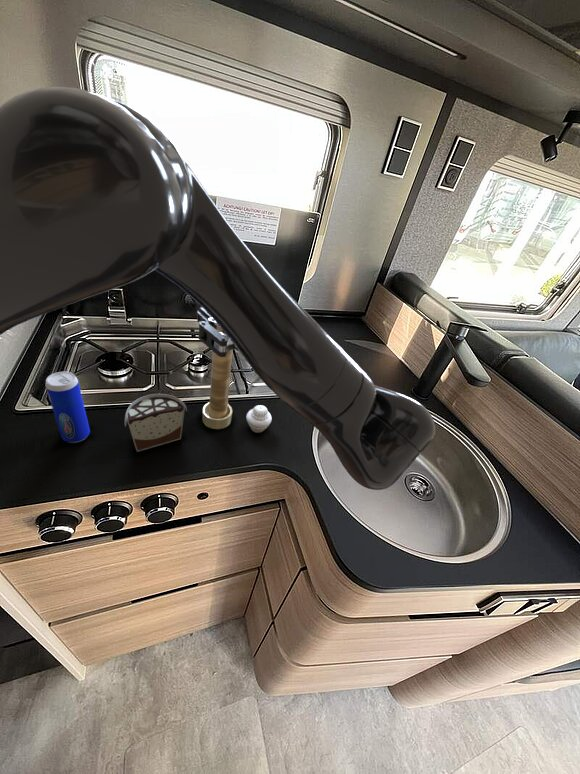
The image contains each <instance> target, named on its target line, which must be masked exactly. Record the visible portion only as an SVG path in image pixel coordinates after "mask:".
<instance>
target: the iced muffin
mask: <svg viewBox="0 0 580 774" xmlns="http://www.w3.org/2000/svg"><path fill="white" fill-rule="evenodd" d="M185 412H188V407H187V405H186V404H185V402H183V400H182V399H181V398H179V397H177V396H174V395H171V394H167V393H152V394H147V395H143V396H141V397H138V398H137V399H135V400H134V401H133V402H131V403H130V404H129V405H128V408H127V409H126V411H125V414H124V420H123V421H124V422H123V423H124V427H127V425H128V429H129V431H130V434H131V437H132V440H133V445H134V448H135V451H136V453H138V452H142V451H145V450H149V449H152V448H155V447H158V446H162V445H166V444H169V443H172V442H176V441H179V440H182V434H183V425H184V418H185Z"/></svg>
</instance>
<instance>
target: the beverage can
mask: <svg viewBox="0 0 580 774" xmlns="http://www.w3.org/2000/svg"><path fill="white" fill-rule="evenodd" d="M79 383H80V382H79V379H78V378H77V377H76V375H75V374H74V373H72V372H71V371H58V372H54V373H51V374H50V375H48V376H47V377H46V379H45V386H44V387H45V389H46V392H47V395H48V399H49V402H50V405H51V408H52V411H53V414H54V418H55V421H56V424H57V427H58V430H59V434H60V437H61V439H62V441H64V442H66V443H70V444H76V443H80V442H82V441H84V440H86V439H87V438H88V437H89V435H90V433H91V429H90V425H89V421H88V416H87V413H86V408H85V403H84V399H83V396H82V395H83V394H82V393H81V388H80V384H79Z"/></svg>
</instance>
